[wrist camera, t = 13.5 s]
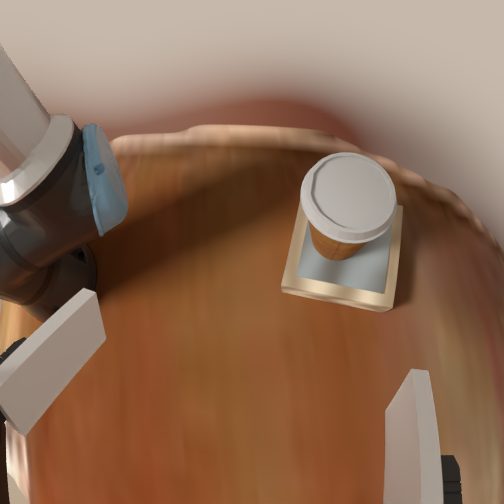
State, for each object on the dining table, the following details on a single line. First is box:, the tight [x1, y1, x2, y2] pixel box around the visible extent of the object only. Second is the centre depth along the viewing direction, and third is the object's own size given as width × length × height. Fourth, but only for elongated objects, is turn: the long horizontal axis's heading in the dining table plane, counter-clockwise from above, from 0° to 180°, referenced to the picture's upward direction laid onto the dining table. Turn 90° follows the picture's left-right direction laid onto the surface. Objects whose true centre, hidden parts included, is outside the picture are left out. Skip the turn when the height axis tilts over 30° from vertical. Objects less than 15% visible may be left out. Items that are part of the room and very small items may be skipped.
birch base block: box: [281, 199, 403, 313], centre depth 41 cm, size 14×14×4 cm
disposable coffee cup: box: [301, 152, 397, 261], centre depth 34 cm, size 10×10×12 cm
